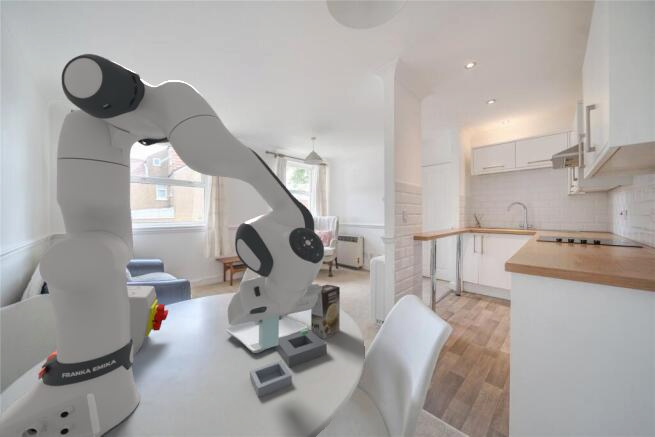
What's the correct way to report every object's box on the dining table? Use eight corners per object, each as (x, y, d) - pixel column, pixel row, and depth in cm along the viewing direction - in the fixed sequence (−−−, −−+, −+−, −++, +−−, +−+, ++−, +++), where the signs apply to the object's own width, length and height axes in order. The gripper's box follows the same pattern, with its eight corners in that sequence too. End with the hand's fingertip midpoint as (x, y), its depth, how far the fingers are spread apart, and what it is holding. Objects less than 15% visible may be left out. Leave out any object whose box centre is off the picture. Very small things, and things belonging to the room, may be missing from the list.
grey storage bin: (258, 401, 53) (258, 388, 53) (250, 382, 59) (249, 370, 59) (291, 387, 58) (291, 375, 58) (280, 371, 64) (280, 360, 64)
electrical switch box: (157, 357, 74) (168, 293, 76) (94, 364, 67) (107, 293, 69) (164, 337, 87) (173, 282, 89) (112, 340, 80) (123, 281, 82)
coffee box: (324, 339, 80) (324, 292, 80) (310, 334, 84) (310, 289, 84) (340, 330, 88) (340, 286, 88) (326, 325, 92) (326, 283, 92)
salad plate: (224, 337, 83) (224, 327, 83) (275, 318, 99) (275, 310, 99) (253, 362, 69) (253, 350, 69) (309, 336, 84) (309, 326, 84)
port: (289, 371, 64) (289, 354, 64) (275, 351, 73) (275, 337, 73) (326, 357, 70) (326, 341, 70) (309, 341, 80) (309, 327, 80)
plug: (262, 349, 56) (263, 303, 56) (258, 343, 59) (259, 300, 59) (278, 345, 58) (279, 301, 58) (274, 339, 61) (275, 297, 61)
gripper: (320, 272, 58) (302, 301, 66) (232, 283, 47) (223, 315, 56) (329, 296, 54) (309, 323, 63) (236, 313, 44) (226, 342, 52)
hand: (268, 319), depth 59 cm, fingers closed on plug, 4 cm apart
